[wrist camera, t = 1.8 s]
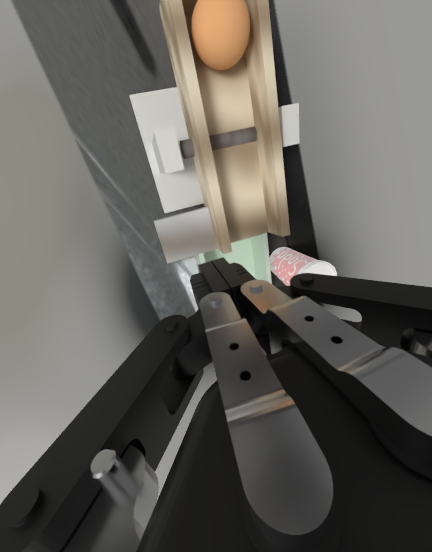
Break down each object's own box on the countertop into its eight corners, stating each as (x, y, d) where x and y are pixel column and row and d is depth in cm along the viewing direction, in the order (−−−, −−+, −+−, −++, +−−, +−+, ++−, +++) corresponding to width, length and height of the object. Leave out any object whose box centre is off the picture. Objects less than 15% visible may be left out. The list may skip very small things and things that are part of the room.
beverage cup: (293, 235, 36) (368, 268, 24) (300, 267, 39) (371, 310, 27) (259, 252, 36) (318, 295, 23) (269, 283, 38) (326, 335, 26)
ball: (184, 46, 17) (182, -33, 14) (233, 39, 18) (244, -38, 14) (200, 88, 17) (203, 17, 13) (250, 79, 17) (266, 10, 14)
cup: (188, 232, 31) (195, 242, 27) (249, 215, 33) (265, 222, 28) (205, 298, 36) (214, 316, 32) (258, 281, 38) (272, 296, 33)
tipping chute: (93, 30, 17) (71, -28, 12) (248, 11, 19) (277, -44, 14) (166, 256, 24) (168, 270, 19) (273, 225, 26) (298, 232, 21)
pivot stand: (129, 97, 24) (120, 54, 15) (252, 77, 26) (306, 28, 17) (164, 211, 29) (171, 229, 20) (262, 186, 31) (307, 192, 23)
